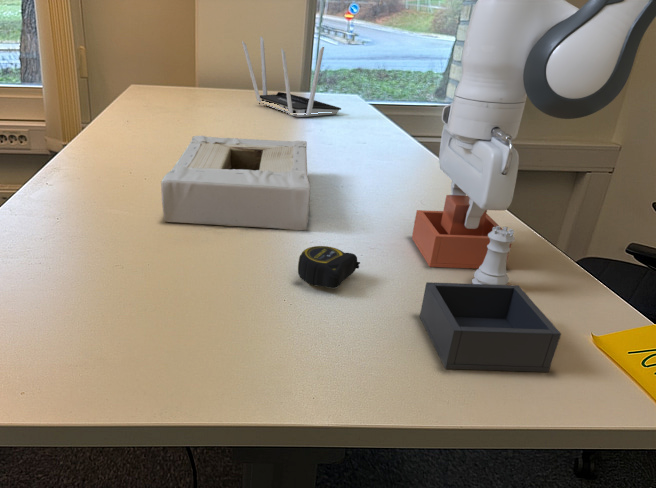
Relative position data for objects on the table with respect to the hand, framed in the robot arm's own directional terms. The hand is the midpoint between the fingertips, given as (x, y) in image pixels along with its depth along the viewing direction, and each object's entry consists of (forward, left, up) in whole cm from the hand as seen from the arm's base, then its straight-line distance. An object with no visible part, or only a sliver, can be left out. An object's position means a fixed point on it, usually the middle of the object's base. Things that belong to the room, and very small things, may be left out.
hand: (463, 219), depth 84 cm
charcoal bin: (+5, +25, -5) cm, 26 cm away
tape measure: (+20, +11, -5) cm, 23 cm away
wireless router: (+19, -109, -5) cm, 111 cm away
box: (+32, -23, -5) cm, 40 cm away
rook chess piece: (-1, +11, -5) cm, 12 cm away
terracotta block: (0, 0, -2) cm, 2 cm away
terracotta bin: (0, 0, -5) cm, 5 cm away
